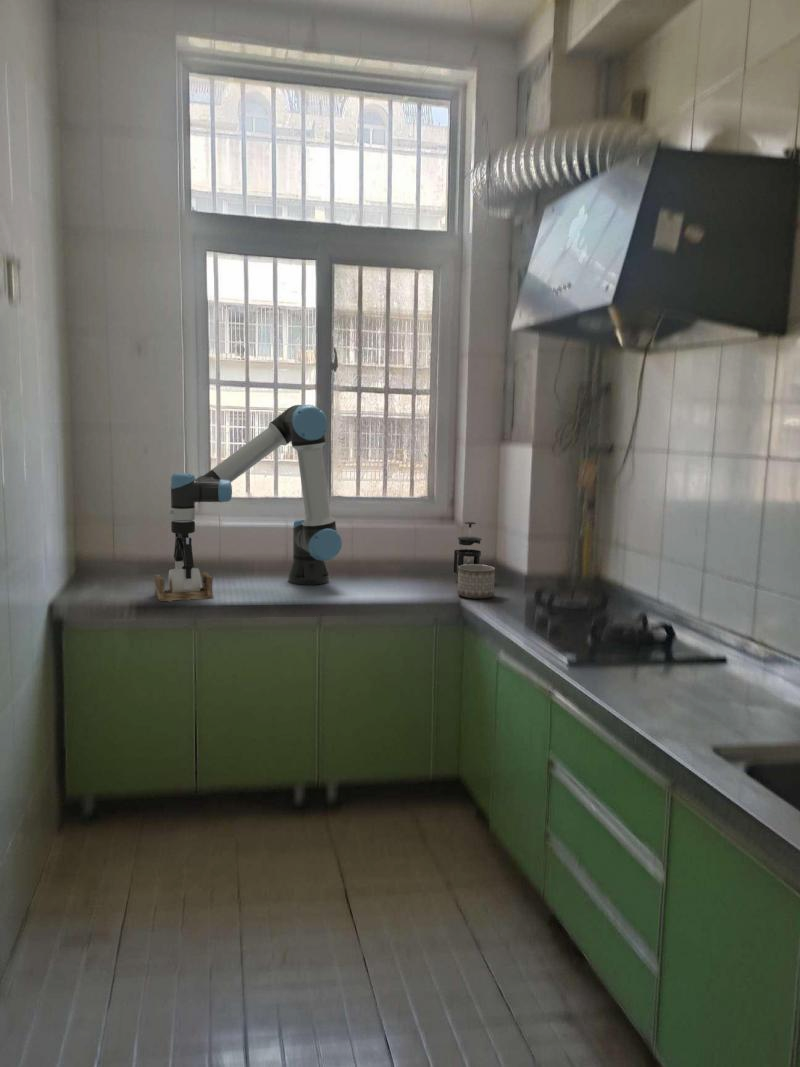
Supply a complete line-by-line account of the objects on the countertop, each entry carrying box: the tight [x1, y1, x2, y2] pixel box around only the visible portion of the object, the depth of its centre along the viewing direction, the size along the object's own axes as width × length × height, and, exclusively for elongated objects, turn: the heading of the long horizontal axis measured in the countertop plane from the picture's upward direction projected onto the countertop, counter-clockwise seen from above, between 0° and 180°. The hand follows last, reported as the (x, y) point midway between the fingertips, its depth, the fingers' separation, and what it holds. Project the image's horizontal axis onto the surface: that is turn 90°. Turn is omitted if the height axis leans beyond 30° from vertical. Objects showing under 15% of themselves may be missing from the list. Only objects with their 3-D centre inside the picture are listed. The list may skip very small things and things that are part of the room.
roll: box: [168, 567, 202, 593], centre depth 273 cm, size 9×8×8 cm
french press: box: [453, 521, 482, 584], centre depth 310 cm, size 12×9×23 cm
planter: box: [456, 563, 496, 599], centre depth 286 cm, size 13×13×10 cm
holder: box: [154, 571, 214, 602], centre depth 273 cm, size 17×11×7 cm, turn 116°
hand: (183, 584), depth 273 cm, fingers open, 13 cm apart
